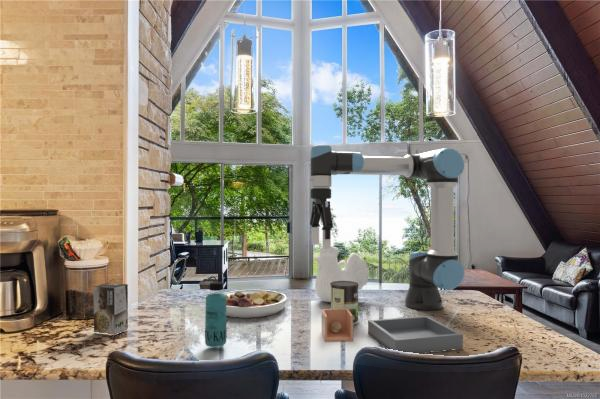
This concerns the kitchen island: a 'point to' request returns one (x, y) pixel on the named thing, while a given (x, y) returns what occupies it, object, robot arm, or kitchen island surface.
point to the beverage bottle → (215, 316)
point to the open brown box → (343, 318)
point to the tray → (414, 334)
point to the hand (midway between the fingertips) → (320, 246)
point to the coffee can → (345, 297)
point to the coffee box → (110, 308)
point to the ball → (336, 327)
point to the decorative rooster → (338, 271)
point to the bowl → (254, 303)
